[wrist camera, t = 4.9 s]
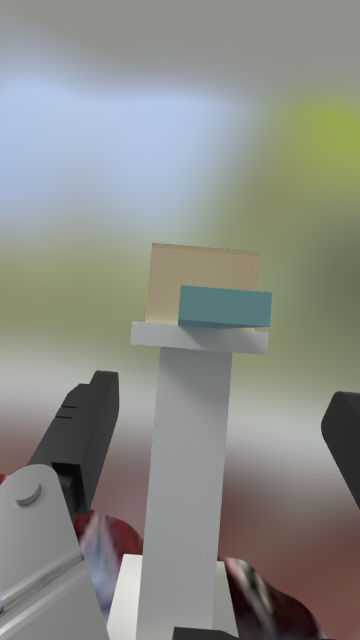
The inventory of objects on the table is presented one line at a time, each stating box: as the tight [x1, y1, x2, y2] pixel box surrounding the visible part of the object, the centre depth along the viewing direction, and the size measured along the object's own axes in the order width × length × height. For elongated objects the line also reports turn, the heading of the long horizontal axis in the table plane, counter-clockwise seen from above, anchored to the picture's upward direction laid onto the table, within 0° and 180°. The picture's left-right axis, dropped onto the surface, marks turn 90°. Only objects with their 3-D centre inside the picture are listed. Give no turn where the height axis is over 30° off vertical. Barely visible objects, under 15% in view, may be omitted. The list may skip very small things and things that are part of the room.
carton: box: [145, 243, 272, 331], centre depth 23 cm, size 23×10×7 cm, turn 1°
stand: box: [106, 321, 268, 640], centre depth 29 cm, size 13×13×32 cm
